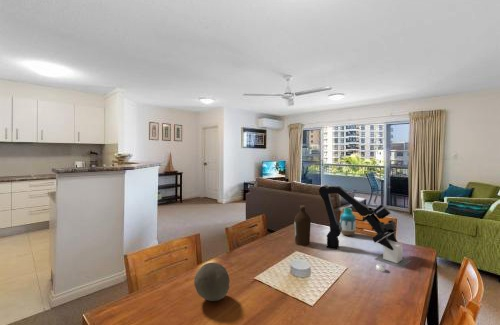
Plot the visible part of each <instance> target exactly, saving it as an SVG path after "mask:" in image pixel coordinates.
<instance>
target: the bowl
mask: <svg viewBox="0 0 500 325" xmlns="http://www.w3.org/2000/svg"><path fill="white" fill-rule="evenodd" d="M375 269H376V271H377V272H379V273H385V272H386V266H385V265H384V264H380V263H379V264H378V263H377V264H376V266H375Z"/></svg>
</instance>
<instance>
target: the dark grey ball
mask: <svg viewBox="0 0 500 325" xmlns="http://www.w3.org/2000/svg"><path fill="white" fill-rule="evenodd" d="M193 281H194V282H193V284H194V288H195V289H196V292H197V294H198V296H200V297H201V298H202V299H204V300H207V301H208V302H209V301H210V302H219V301H220V300H222V299H224V298H225V297H226V296H227V294H228V293H229V290H230V282H231V281H230V276H229V273H228V271H227V268H226V267H225V266H223V265H222V264H221V263H218V262H208V263H207V262H206V263H205V264H203V265H202V266H201V267H199V269H198V270H197V271H196V274H195V275H194V280H193Z"/></svg>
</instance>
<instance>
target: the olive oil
mask: <svg viewBox="0 0 500 325" xmlns="http://www.w3.org/2000/svg"><path fill="white" fill-rule="evenodd" d="M293 219H294V220H293V221H294V222H293V224H294V243H295V244H296V245H298V246H302V247H303V246H309V245H310V242H311V240H310V239H311V223H312V222H311V221H312V220H311V216H310V215H309V214H308V213H307V212H306V206H305V205H299V212H297V213H296V215H295V216H294V218H293Z"/></svg>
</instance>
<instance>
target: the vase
mask: <svg viewBox="0 0 500 325" xmlns="http://www.w3.org/2000/svg"><path fill="white" fill-rule="evenodd" d="M356 221H357V220H356V215H355V214H354V213H353V209H352V208H350V207H344V208H343V213H341V214H340V218H339V223H341V227H342V231H341V234H343V235H345V236H353V235H354V234H355V233H356V227H357V222H356Z"/></svg>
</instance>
